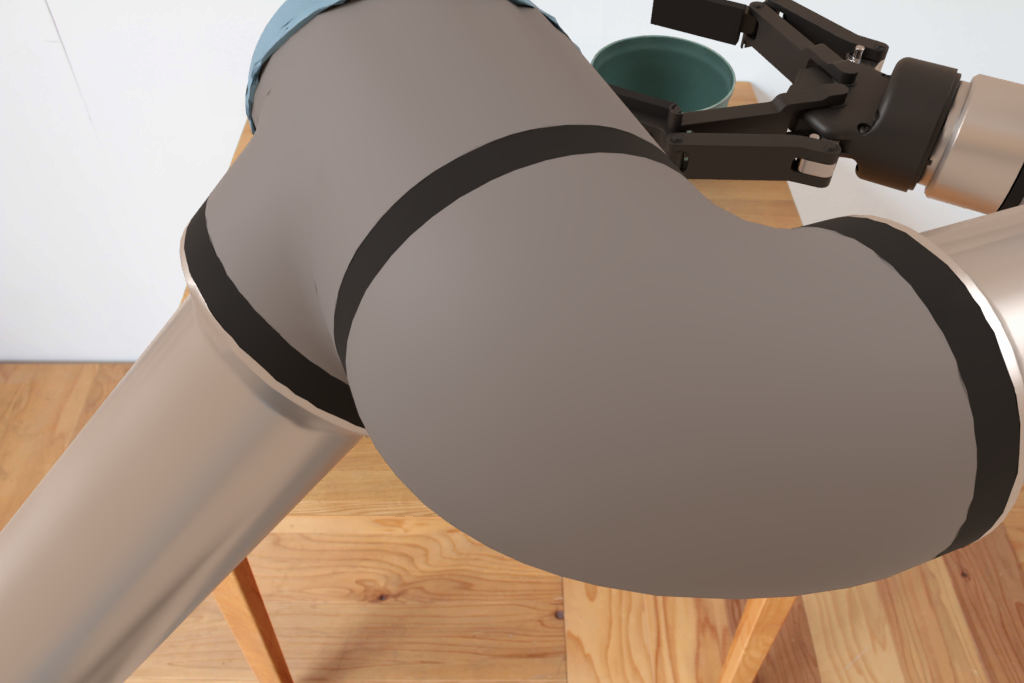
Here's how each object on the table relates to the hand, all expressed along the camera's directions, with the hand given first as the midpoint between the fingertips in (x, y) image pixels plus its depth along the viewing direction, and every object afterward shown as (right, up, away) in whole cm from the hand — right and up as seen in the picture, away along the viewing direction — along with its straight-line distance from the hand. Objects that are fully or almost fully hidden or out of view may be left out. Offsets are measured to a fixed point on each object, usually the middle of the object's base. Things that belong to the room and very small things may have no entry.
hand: (616, 47), depth 58 cm
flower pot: (+10, +3, +45) cm, 46 cm away
